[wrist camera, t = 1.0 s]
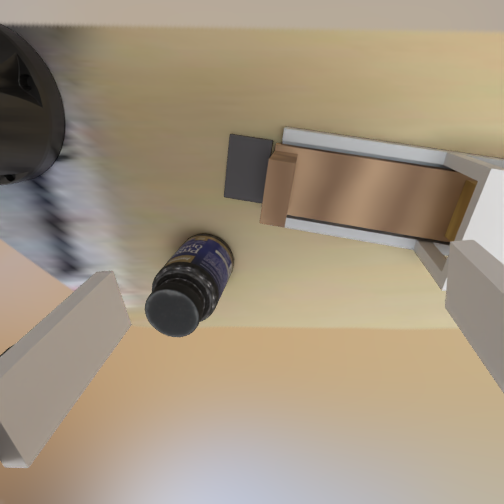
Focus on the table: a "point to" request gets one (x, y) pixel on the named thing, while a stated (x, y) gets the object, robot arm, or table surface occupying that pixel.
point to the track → (474, 166)
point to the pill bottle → (189, 285)
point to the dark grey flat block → (247, 168)
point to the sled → (365, 192)
